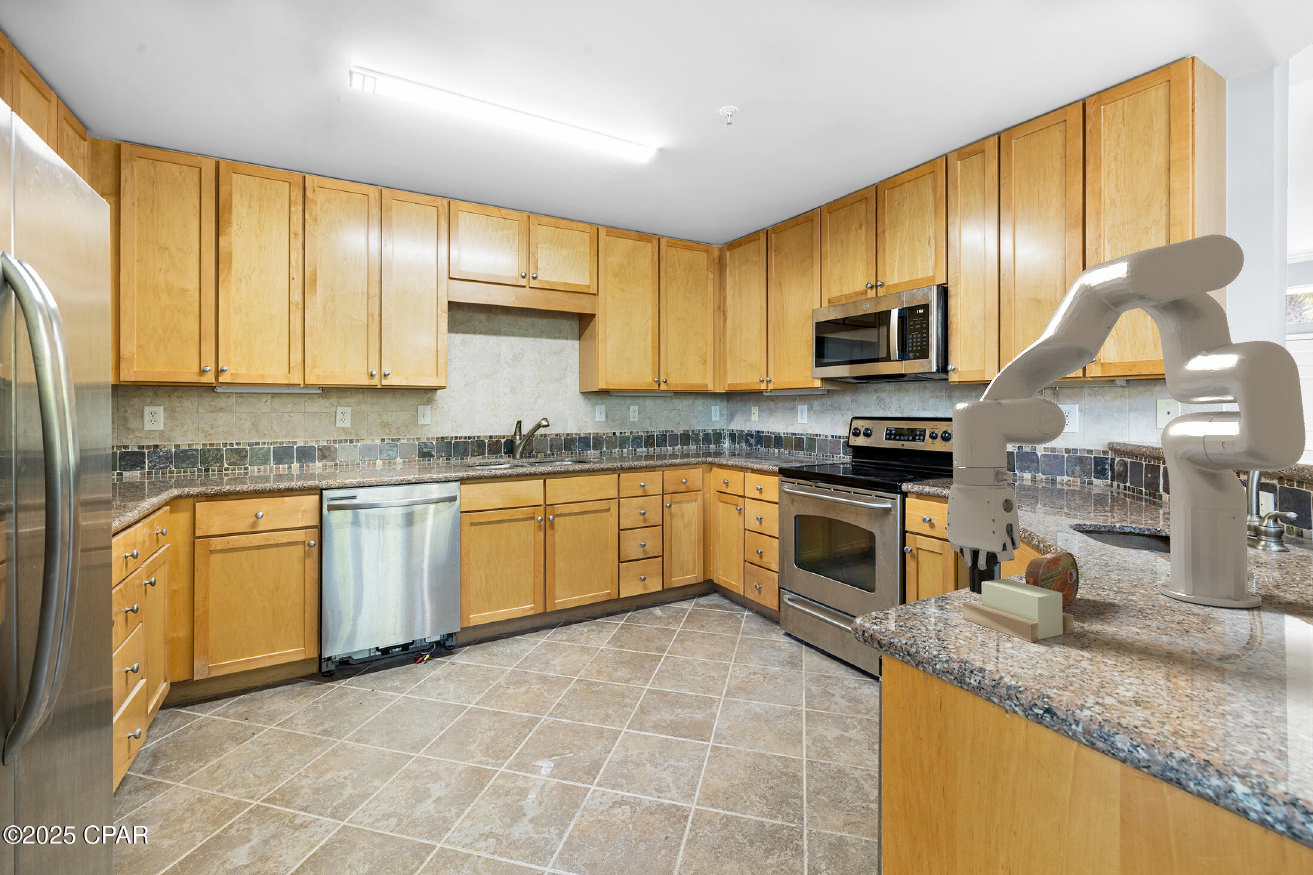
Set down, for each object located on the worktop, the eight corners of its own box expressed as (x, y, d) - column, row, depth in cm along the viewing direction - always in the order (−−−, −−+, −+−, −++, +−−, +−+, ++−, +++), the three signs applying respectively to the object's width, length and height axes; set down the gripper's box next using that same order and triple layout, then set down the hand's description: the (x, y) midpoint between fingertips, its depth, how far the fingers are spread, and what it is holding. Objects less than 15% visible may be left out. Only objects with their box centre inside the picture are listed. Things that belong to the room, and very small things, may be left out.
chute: (1003, 611, 94) (1002, 595, 94) (1073, 632, 84) (1073, 615, 84) (962, 619, 91) (962, 603, 91) (1031, 642, 80) (1030, 624, 80)
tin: (1043, 616, 91) (1042, 563, 91) (1021, 611, 94) (1020, 559, 94) (1081, 598, 100) (1080, 549, 100) (1060, 594, 102) (1060, 547, 102)
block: (1005, 616, 92) (1004, 578, 91) (1062, 634, 83) (1062, 592, 83) (982, 620, 90) (981, 582, 90) (1038, 639, 81) (1037, 597, 81)
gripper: (1041, 480, 87) (1043, 601, 87) (957, 473, 100) (958, 578, 101) (1006, 482, 84) (1008, 608, 84) (924, 475, 98) (926, 583, 98)
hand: (981, 591), depth 92 cm, fingers closed
